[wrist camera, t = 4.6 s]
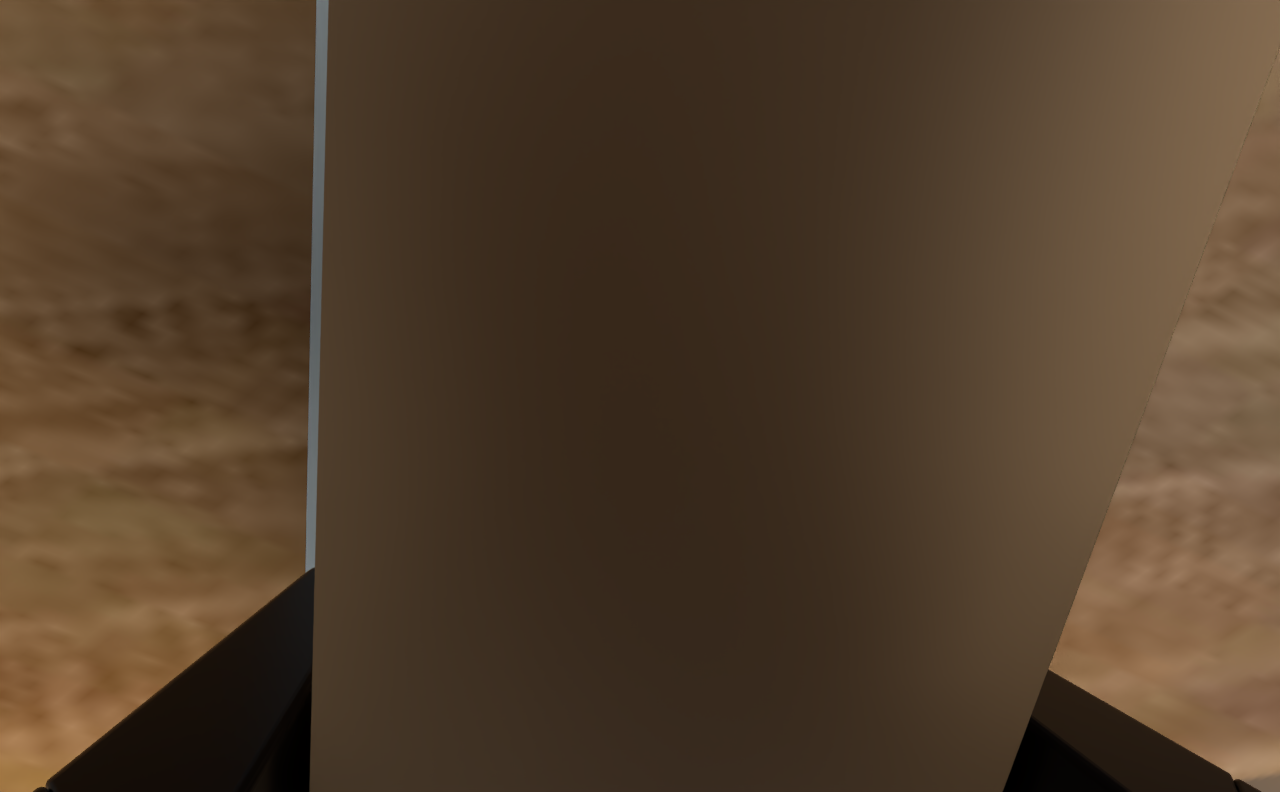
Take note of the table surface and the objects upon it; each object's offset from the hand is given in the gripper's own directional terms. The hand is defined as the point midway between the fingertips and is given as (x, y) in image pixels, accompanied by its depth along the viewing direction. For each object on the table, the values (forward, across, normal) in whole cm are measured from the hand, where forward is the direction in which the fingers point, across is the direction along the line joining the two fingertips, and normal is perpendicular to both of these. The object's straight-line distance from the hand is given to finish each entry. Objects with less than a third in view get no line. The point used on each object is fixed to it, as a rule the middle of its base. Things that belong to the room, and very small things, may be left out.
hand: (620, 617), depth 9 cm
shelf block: (+1, 0, 0) cm, 1 cm away
